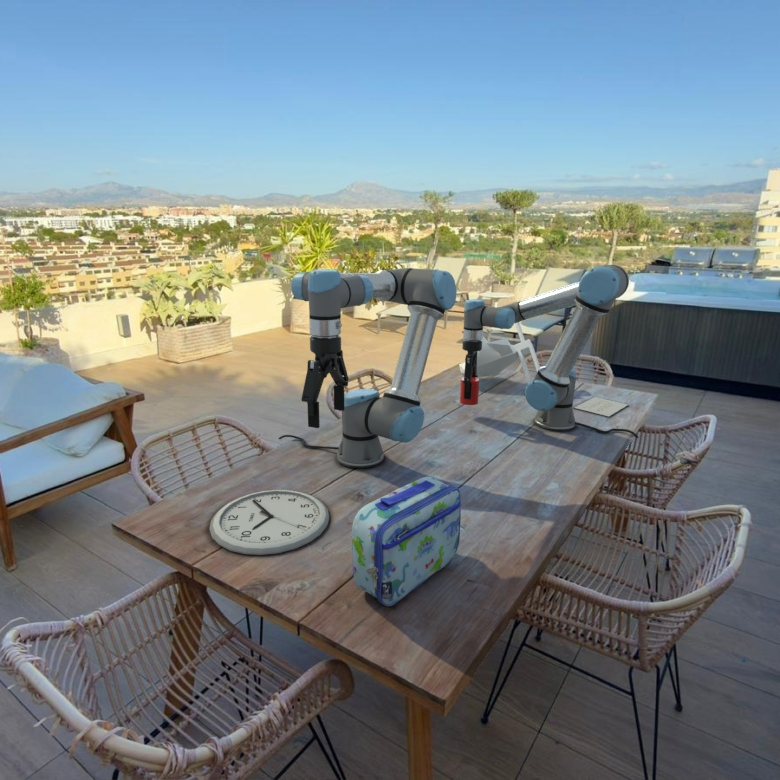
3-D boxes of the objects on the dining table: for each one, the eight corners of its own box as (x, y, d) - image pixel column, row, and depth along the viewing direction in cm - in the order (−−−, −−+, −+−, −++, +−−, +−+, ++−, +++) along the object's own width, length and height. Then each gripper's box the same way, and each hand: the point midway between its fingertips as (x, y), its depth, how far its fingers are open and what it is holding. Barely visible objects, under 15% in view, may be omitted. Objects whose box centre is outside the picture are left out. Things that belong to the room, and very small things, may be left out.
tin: (461, 398, 215) (462, 376, 213) (479, 400, 213) (480, 377, 211) (458, 404, 209) (459, 380, 206) (476, 406, 207) (478, 382, 204)
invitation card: (608, 416, 214) (573, 407, 224) (608, 416, 214) (573, 408, 224) (628, 404, 229) (594, 396, 238) (628, 405, 229) (594, 397, 238)
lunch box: (381, 619, 101) (382, 525, 95) (345, 592, 109) (344, 503, 102) (464, 563, 119) (469, 480, 113) (428, 543, 126) (432, 464, 120)
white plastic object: (480, 420, 263) (459, 397, 239) (461, 347, 286) (440, 319, 261) (551, 396, 251) (537, 369, 226) (526, 322, 273) (511, 290, 249)
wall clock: (327, 546, 121) (194, 551, 119) (327, 552, 122) (195, 557, 119) (330, 485, 150) (223, 488, 147) (330, 490, 150) (224, 493, 148)
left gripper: (313, 347, 114) (316, 437, 120) (361, 328, 136) (360, 405, 142) (283, 344, 116) (287, 432, 123) (335, 325, 138) (336, 401, 145)
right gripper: (467, 334, 214) (464, 388, 221) (457, 344, 196) (454, 402, 202) (486, 335, 212) (482, 389, 218) (477, 345, 193) (474, 404, 200)
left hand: (327, 418), depth 132 cm, fingers open, 13 cm apart
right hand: (469, 395), depth 210 cm, fingers closed on tin, 7 cm apart
